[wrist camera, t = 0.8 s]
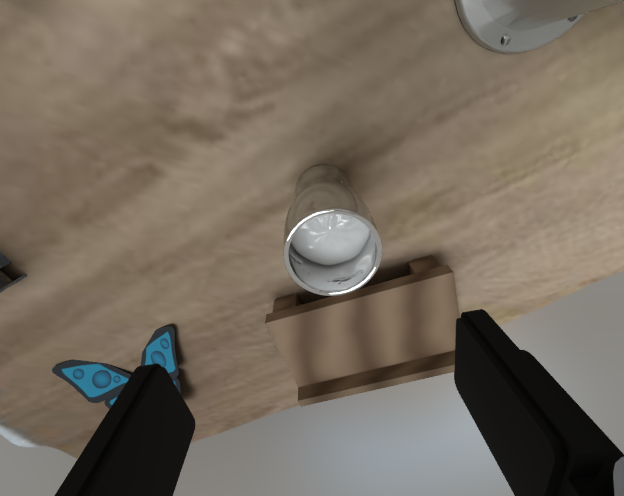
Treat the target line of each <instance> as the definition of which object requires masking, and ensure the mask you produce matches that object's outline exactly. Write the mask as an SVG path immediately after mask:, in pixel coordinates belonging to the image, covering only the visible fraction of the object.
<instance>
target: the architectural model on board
mask: <svg viewBox="0 0 624 496" xmlns="http://www.w3.org/2000/svg"><path fill="white" fill-rule="evenodd" d="M10 263H11V261H10V260H8V259H7V258H6V257H5V256H4V255H2V254H1V253H0V268H2V267H4V266H6V265H8V264H10ZM26 276H27V275H26V274H24V275H23V276H21V277H19V278H18V279H16V280H14V281H12V280H11V279H10V278H9V277H7V276H6V275H5V274H4V273H3V272H1V271H0V292H2V291H4V290H5V289H7V288H8V287H10V286H12V285H13V284H15V283H16V282H18V281H20V280H21V279H23V278H24V277H26Z"/></svg>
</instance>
